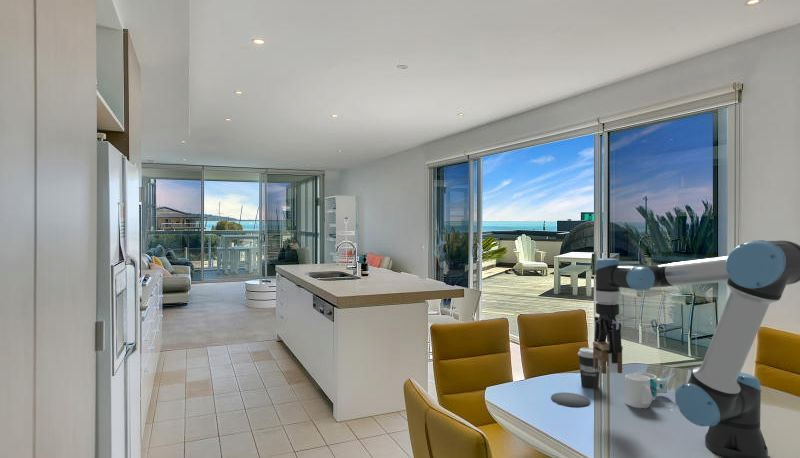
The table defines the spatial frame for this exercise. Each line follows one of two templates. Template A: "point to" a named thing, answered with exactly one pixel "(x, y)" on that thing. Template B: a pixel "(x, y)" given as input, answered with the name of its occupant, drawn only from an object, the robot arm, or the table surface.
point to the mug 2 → (655, 384)
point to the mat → (570, 399)
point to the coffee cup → (588, 369)
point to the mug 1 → (637, 391)
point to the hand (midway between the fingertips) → (607, 368)
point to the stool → (604, 356)
